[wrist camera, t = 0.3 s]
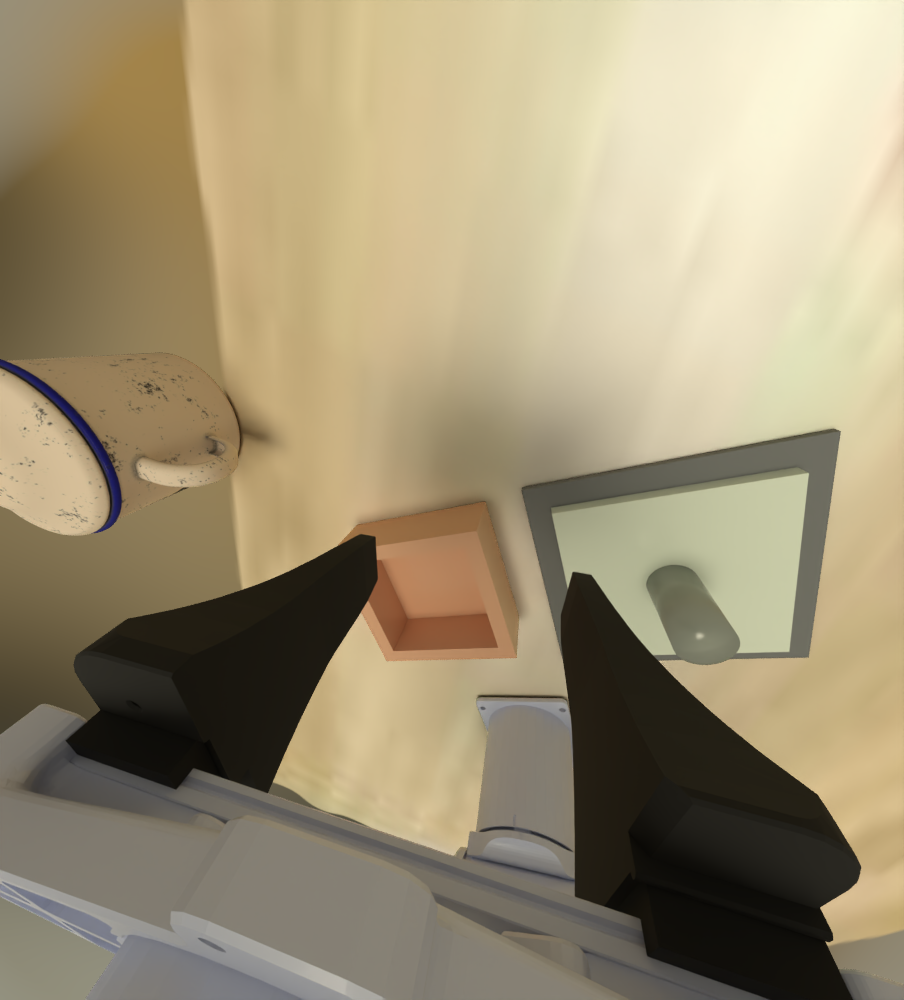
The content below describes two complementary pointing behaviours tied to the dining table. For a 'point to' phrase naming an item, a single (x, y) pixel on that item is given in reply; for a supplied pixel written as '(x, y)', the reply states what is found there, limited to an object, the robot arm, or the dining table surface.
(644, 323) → the dining table surface
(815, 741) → the dining table surface
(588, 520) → the lid
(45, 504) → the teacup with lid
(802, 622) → the mat
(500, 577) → the dish
